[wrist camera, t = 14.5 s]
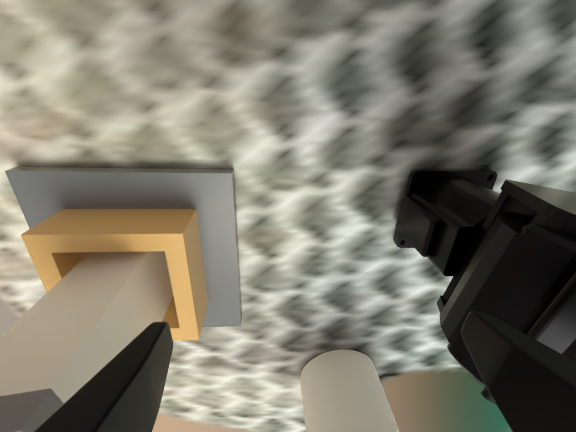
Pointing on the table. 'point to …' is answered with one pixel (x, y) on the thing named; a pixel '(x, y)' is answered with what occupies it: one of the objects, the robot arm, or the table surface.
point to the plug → (78, 332)
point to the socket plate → (140, 231)
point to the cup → (344, 394)
